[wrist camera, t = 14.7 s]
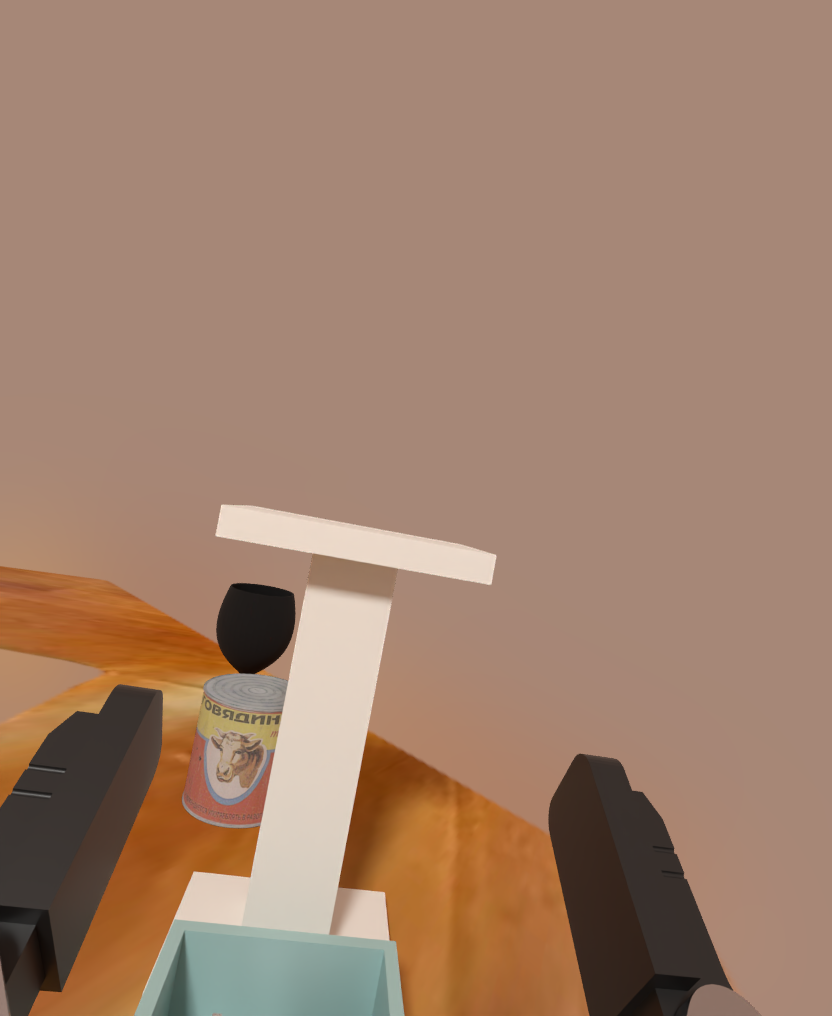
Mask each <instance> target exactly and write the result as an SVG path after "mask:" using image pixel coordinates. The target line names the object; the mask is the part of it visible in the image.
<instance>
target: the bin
mask: <svg viewBox="0 0 832 1016" xmlns="http://www.w3.org/2000/svg"><path fill="white" fill-rule="evenodd" d="M213 1013H219V1014H222V1016H404V1009H403V1000H402V991H401V982H400V973H399V965H398V956H397V947H396V941H387V940H377V939H367V938H357V937H347V936H337V935H327V934H317V933H307V932H297V931H287V930H277V929H267V928H257V927H247V926H237V925H227V924H217V923H207V922H197V921H187V920H177V919H174V922H173V924H172V927H171V929H170V931H169V934H168V936H167V938H166V941H165V943H164V946H163V948H162V950H161V953H160V955H159V957H158V960H157V962H156V965H155V967H154V969H153V972H152V974H151V977H150V979H149V981H148V984H147V986H146V988H145V991H144V993H143V996H142V998H141V1000H140V1003H139V1005H138V1007H137V1010H136V1012H135V1015H134V1016H212V1014H213Z"/></svg>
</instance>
